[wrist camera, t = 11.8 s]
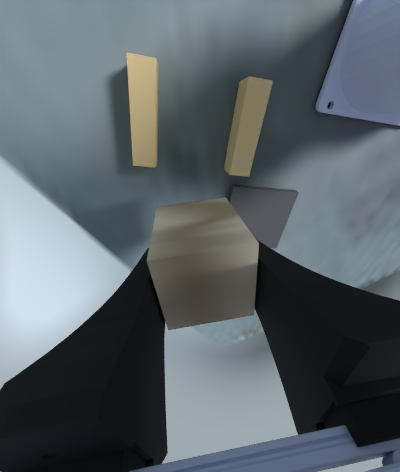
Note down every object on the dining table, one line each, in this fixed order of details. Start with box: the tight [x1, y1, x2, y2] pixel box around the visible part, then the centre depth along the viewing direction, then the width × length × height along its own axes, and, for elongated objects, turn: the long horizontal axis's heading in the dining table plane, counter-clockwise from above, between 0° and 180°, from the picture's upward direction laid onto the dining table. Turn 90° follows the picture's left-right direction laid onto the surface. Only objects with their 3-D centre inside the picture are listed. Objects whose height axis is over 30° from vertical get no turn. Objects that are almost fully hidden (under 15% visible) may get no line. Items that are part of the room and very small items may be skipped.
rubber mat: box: [228, 185, 298, 248], centre depth 19 cm, size 6×6×1 cm
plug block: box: [147, 197, 259, 330], centre depth 10 cm, size 4×4×5 cm
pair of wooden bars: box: [127, 53, 273, 177], centre depth 14 cm, size 9×6×2 cm
